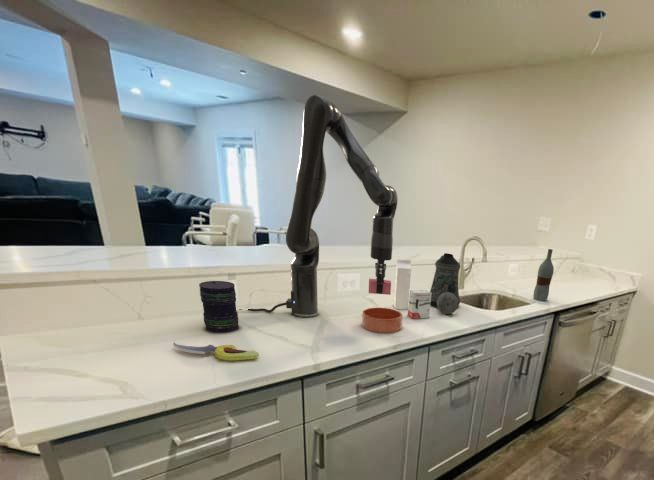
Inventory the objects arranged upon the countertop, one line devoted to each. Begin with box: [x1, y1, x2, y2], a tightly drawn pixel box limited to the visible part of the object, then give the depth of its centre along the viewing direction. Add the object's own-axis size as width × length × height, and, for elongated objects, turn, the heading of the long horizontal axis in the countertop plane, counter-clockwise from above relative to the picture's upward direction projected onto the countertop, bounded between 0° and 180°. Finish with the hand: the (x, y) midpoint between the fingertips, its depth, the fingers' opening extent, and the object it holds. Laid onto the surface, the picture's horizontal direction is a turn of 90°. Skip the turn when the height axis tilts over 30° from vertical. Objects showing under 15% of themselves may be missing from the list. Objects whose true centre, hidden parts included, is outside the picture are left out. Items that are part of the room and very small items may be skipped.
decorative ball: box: [437, 292, 459, 315], centre depth 178 cm, size 10×10×10 cm
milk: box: [393, 259, 412, 310], centre depth 175 cm, size 6×6×22 cm
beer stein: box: [429, 252, 461, 309], centre depth 189 cm, size 16×19×25 cm
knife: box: [172, 342, 260, 361], centre depth 110 cm, size 8×3×25 cm
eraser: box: [368, 278, 392, 296], centre depth 143 cm, size 8×4×4 cm, turn 103°
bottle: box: [532, 248, 555, 302], centre depth 229 cm, size 9×9×30 cm
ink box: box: [407, 288, 432, 320], centre depth 167 cm, size 8×5×12 cm, turn 123°
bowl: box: [361, 307, 403, 334], centre depth 150 cm, size 15×15×6 cm
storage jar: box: [198, 280, 240, 334], centre depth 126 cm, size 10×10×15 cm
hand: (379, 291), depth 144 cm, fingers closed on eraser, 4 cm apart
